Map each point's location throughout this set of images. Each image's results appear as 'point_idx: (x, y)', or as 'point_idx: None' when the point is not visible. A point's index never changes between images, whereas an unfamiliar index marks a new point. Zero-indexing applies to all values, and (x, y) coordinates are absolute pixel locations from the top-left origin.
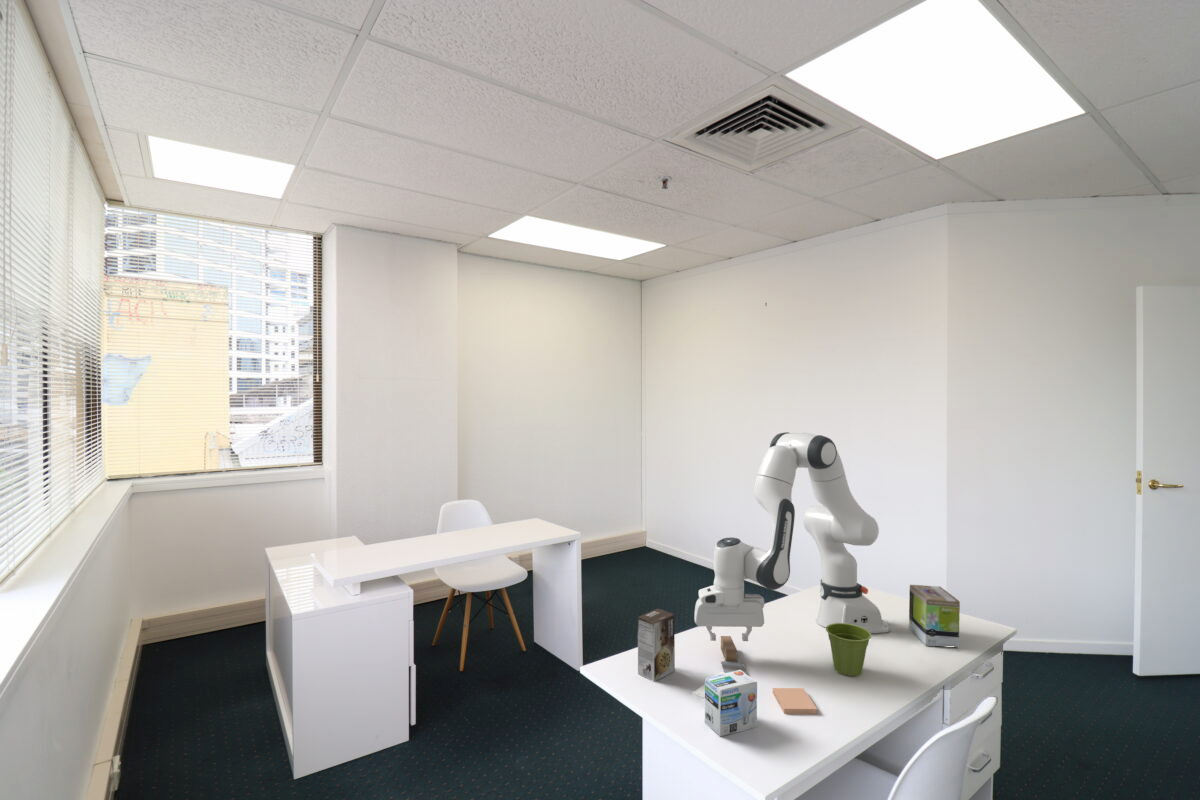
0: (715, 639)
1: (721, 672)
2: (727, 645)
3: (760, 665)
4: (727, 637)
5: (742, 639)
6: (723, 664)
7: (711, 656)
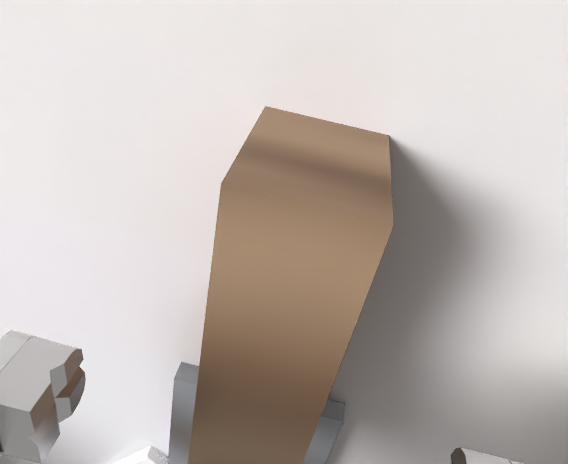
0: (67, 409)
1: (147, 462)
2: (227, 421)
3: (479, 447)
4: (313, 257)
5: (452, 462)
6: (180, 415)
7: (123, 248)
